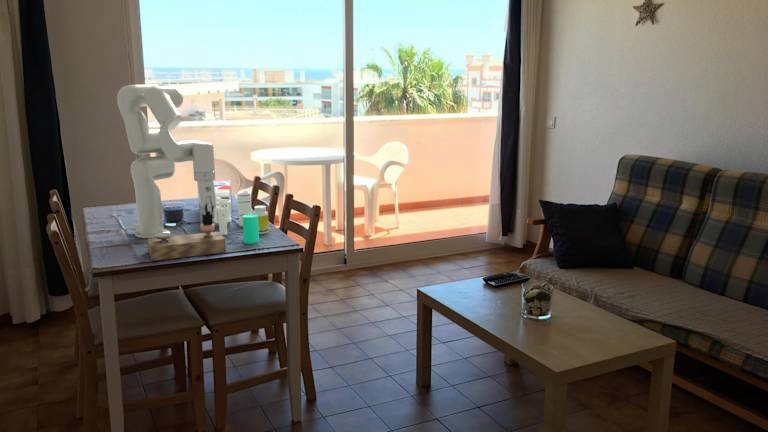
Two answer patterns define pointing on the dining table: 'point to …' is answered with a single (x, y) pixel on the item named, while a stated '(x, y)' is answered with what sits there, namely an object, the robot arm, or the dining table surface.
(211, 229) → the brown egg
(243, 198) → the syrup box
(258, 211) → the pill bottle
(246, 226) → the candle
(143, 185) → the robot arm
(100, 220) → the dining table surface
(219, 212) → the white cylindrical holder
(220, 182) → the soda pack
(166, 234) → the silver oval piece
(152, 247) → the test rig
